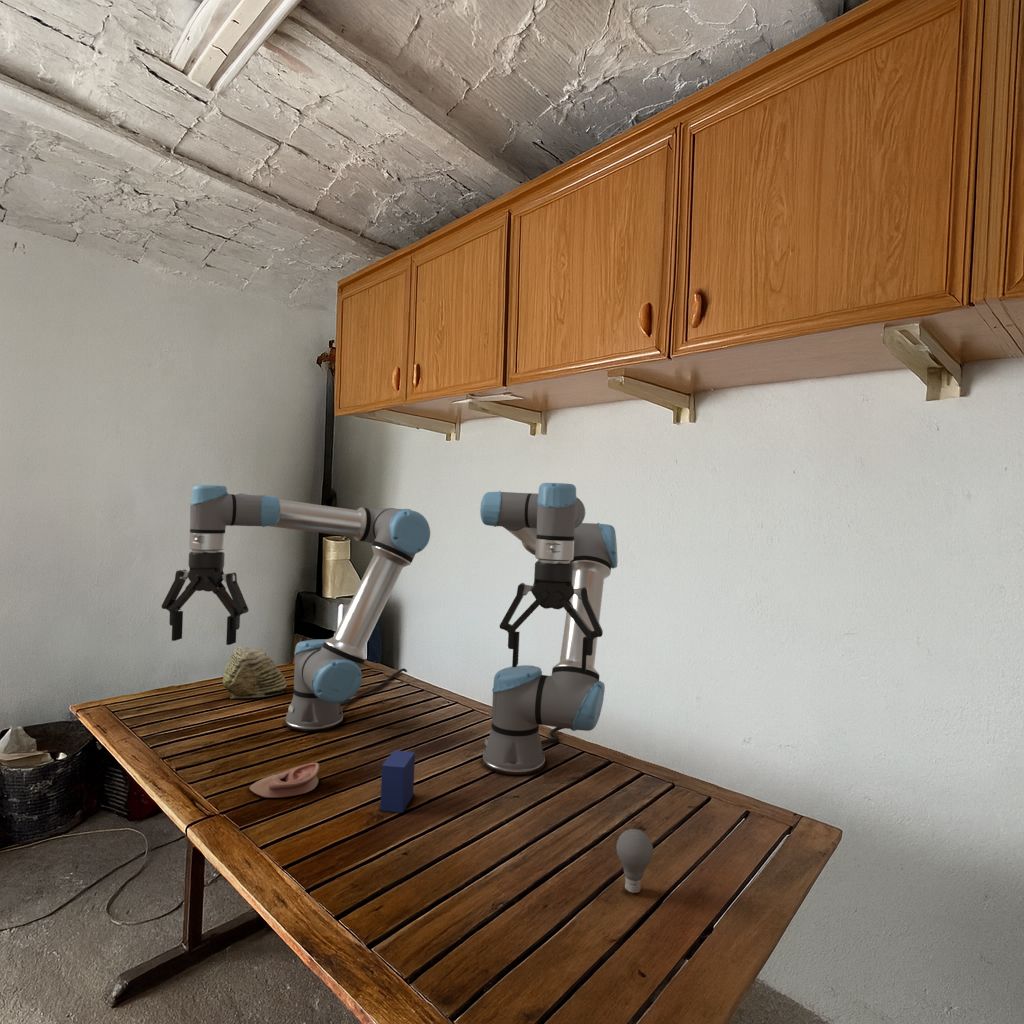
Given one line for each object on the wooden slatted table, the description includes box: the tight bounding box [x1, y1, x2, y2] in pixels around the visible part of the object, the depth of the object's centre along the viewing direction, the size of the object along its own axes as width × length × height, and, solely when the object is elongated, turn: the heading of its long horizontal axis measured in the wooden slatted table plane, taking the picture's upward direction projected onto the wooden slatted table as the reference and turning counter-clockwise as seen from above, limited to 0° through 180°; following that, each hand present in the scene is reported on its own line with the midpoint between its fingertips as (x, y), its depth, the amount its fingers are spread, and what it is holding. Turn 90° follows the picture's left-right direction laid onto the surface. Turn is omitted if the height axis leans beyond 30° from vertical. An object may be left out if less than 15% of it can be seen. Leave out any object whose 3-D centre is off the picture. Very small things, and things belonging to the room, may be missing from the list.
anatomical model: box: [249, 762, 320, 799], centre depth 137 cm, size 13×4×12 cm
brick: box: [379, 749, 416, 814], centre depth 133 cm, size 5×8×9 cm, turn 173°
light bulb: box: [615, 828, 654, 894], centre depth 106 cm, size 6×6×10 cm
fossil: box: [222, 646, 288, 699], centre depth 198 cm, size 9×18×15 cm, turn 132°
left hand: (203, 641), depth 148 cm, fingers open, 13 cm apart
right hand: (549, 668), depth 125 cm, fingers open, 13 cm apart
